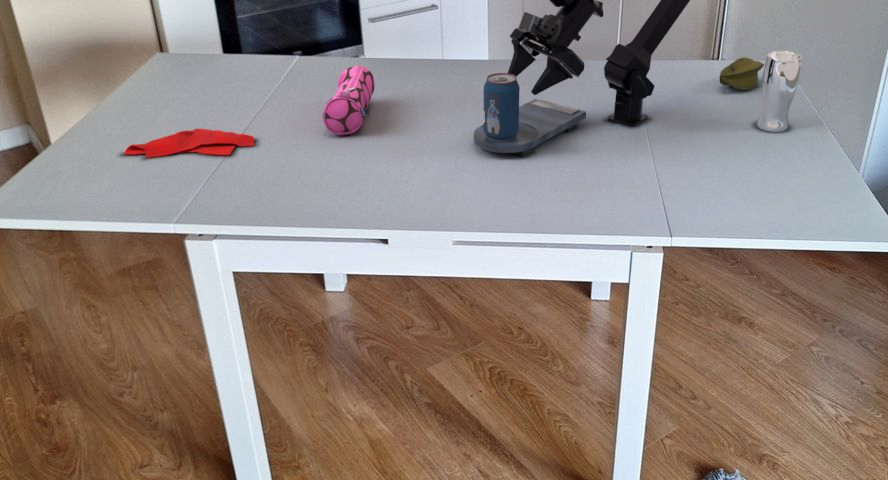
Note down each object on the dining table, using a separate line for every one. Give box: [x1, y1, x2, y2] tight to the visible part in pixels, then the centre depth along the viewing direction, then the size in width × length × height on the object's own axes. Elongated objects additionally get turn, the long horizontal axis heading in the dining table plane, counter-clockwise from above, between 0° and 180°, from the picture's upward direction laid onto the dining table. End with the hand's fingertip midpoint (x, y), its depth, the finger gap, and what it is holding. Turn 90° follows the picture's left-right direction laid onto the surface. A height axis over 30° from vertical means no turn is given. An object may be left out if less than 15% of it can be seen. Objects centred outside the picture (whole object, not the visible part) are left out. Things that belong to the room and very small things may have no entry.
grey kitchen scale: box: [473, 98, 587, 157], centre depth 185 cm, size 26×13×3 cm, turn 140°
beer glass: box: [756, 50, 803, 133], centre depth 183 cm, size 7×7×15 cm
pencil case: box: [322, 64, 376, 136], centre depth 195 cm, size 21×10×10 cm, turn 178°
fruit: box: [719, 57, 765, 91], centre depth 207 cm, size 11×12×7 cm
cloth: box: [123, 128, 255, 159], centre depth 187 cm, size 26×14×2 cm, turn 89°
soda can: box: [483, 72, 520, 142], centre depth 176 cm, size 7×7×12 cm
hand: (519, 86), depth 176 cm, fingers open, 9 cm apart
